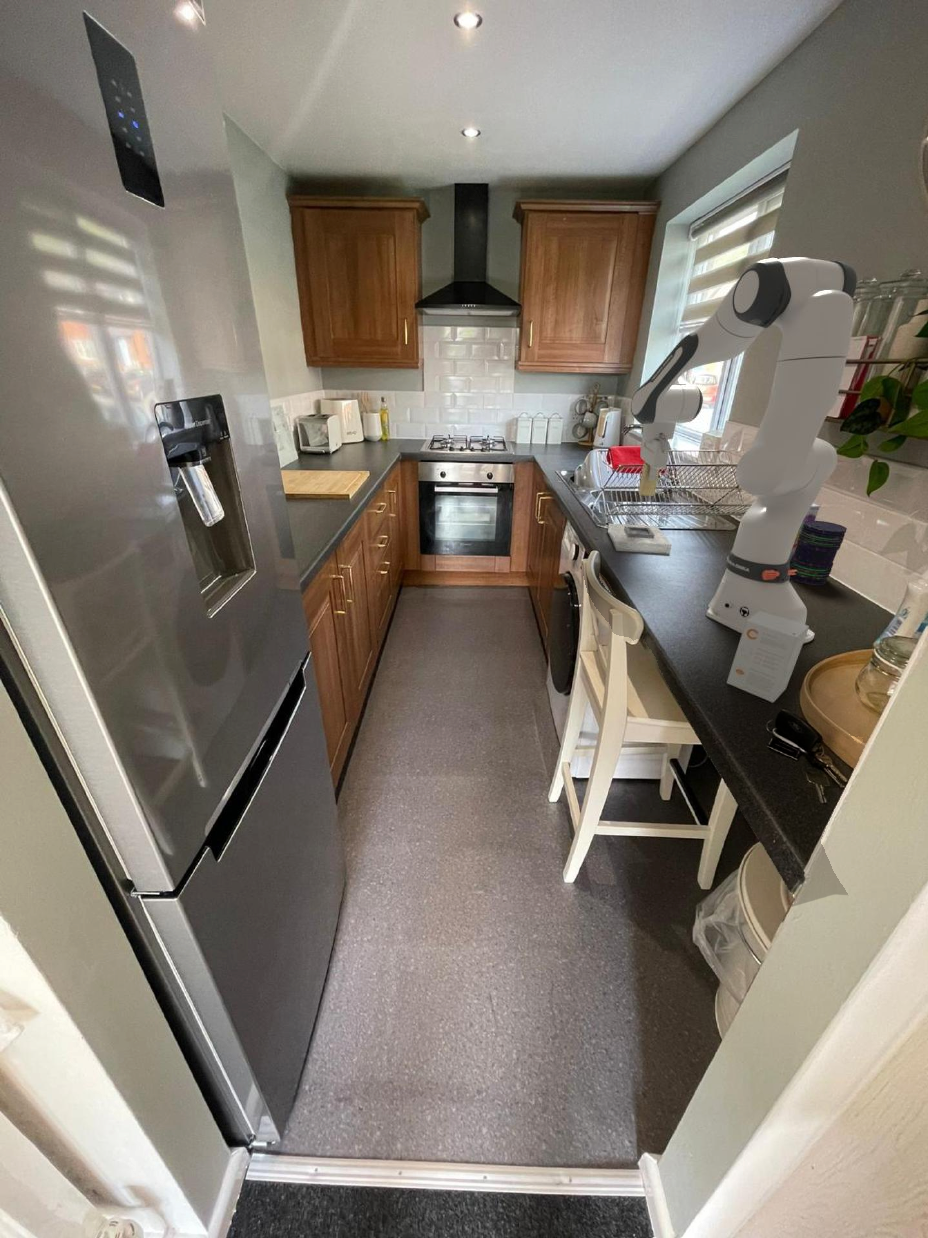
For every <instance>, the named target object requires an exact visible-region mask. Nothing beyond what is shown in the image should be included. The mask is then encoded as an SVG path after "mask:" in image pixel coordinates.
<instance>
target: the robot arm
mask: <svg viewBox="0 0 928 1238" xmlns="http://www.w3.org/2000/svg"><path fill="white" fill-rule="evenodd" d="M857 283H858V277H857V273H856V270H855V269H854V268H853V267H852V266H851V265H849V264H848V263H846V262H843V261H839V260H822V259H817V258H816V259H815V258H810V257H806V256H805V257H798V256H796V257H786V258H779V259H778V258H775V257H771V258H767V259H762V260H759V261H756V262H754V263H752V264H751V265H749V266H748V267H747V268H746V269H745V270H743V272H742V274H741V276H740V277H739V278H738V280H737V281H736V282H735V283H734V284H733V285H732V287H731V288H730V289H729V290H728V292H727V293H726V295H725V296H724V297H723V299H722V301H720V303H719V305H718V306H717V308H715V311H714V312H713V313H712V314H711V315H710V316H709V318H707V320H705V322H703V323H702V324H701V325H700V326H699V327H697V328H696V329H695V330H694V331H692V332H690V333H689V334H687V335H685V336H684V337H683V338H682V339H681V340H679V342H678V343H677V344H676V345H675V347H673V349H672V350H671V352H670V353H668V355H667V356H666V358H665V359H664V360H663V361H662V363H660V365H659V366H658V367H657V368H656V370H655V371H654V372H653V374H652V375H651V376H650V377H649V378H648V379H647V380H646V381H645V382H644V383H643V384H642V385H641V386H640V387H639V388H638V389H637V390H636V391H635V392H634V394H633V396H632V398H631V404H630V412H631V415H632V416H633V417H634V419H635V420H636V421H637V423H639V424H641V425H643V426H642V427H641V431H640V433H641V444H640V451H639V452H640V459H642V460H643V462H644V463H647V464H649V465H650V473H649V474H648V480H649V481H654V480H655V476H656V474H657V472H658V469H659V470H665V469H666V467H667V465H668V458H669V453H670V447H671V446H670V441H669V440H672V439H673V438H674V434H675V430H676V426H677V424H685V423H691V422H692V421H693V420H695V419H696V418H697V417H698V416H699V414H700V412H701V410H702V407H703V402H704V396H703V393H702V391H701V389H700V388H699V387H698V386H695V385H693V384H691V383H690V382H689V381H688V380H687V379H686V375H685V373H686V372H689V371H690V370H692V369H695V368H698V367H702V366H707V365H710V364H715V363H720V362H725V361H731V360H732V359H735V358H736V357H739V356H740V355H741V354H742V353H743V352H745V351H746V350H747V349H748V348H749V347H750V346H751V345H752V344H753V343H754V342H755V340H756V339H757V337H759V335H760V334H761V333H762V331H763V330H764V329H768V328H769V327H771V326H776V327H778V329H780V331H781V334H782V336H781V337H782V338H781V344H780V349H779V353H778V356H777V361H776V367H775V370H774V371H775V372H774V376H773V381H772V386H771V391H770V392H771V393H770V396H769V399H768V404H767V408H766V409H765V412H764V414H763V415H764V416H763V418H762V420H761V423H760V425H759V427H758V430H757V432H756V433H755V436H754V438H753V441H752V443H751V444H750V446H749V448H748V449H747V450H746V451H745V452H744V454H743V455H742V456H741V457H740V459H739V461H738V462H737V465H736V468H735V470H736V471H735V477H736V482H737V484H738V486H739V488H740V489H742V490H743V491H744V492H745V493H747V494H749V495H752V496H756V497H755V499H754V501H753V502H752V504H751V505H750V507H749V508H748V509H747V510H746V511H745V513H744V514H743V516H742V518H741V519H740V523H739V526H738V529H737V533H736V536H735V539H734V543H733V546H732V549H731V550H729V554H728V556H727V558H726V563H725V567H726V569H725V573H724V574H723V576H722V579H721V581H720V583H719V585H718V587H717V589H716V591H715V594H714V596H713V597H712V599H711V600H710V601H709V603H708V606H707V607H708V609H707V612H706V613H705V615H706V616H707V617H708V618H710V619H712V620H714V621H716V622H718V623H720V624H721V625H724V626H726V627H728V628H730V629H732V630H733V631H736V632H738V633H740V634H742V633H743V629H744V626H745V623H746V620H747V619H749V618H750V617H752V616H753V615H755V614H756V613H757V612H759V611H763V612H766V613H769V614H772V615H775V616H778V617H782V618H785V619H788V620H791V621H794V622H797V623H801V624H804V625H806V622H807V617H808V616H807V615H808V610H807V606H806V605H805V603H804V602H803V600H802V599H801V597H800V596H799V594H798V592H797V591H796V590H795V588H794V587H793V585H792V583H791V582H790V575H796V574H795V573H792V572H796V571H797V570H790V564H789V560H788V559H789V556H790V553H791V550H792V548H793V545H794V542H795V539H796V536H797V533H798V531H799V528H800V526H801V524H802V522H803V520H804V518H805V516H806V514H807V513H808V511H809V509H810V508H811V506H812V504H814V502H815V501H816V499H817V497H818V496H819V493H820V491H821V489H822V488H823V487H824V484H825V483H826V482H827V480H828V479H829V478H830V477H831V476H832V474H833V473H834V472H835V470H836V467H837V464H838V454H837V450H836V448H835V447H834V446H833V445H832V444H831V443H829V442H828V441H826V440H824V439H821V438H818V437H817V436H818V435H819V432H820V429H821V428H822V426H823V424H824V422H825V420H826V418H827V416H828V414H829V413H831V411H832V410H833V408H835V405H836V403H837V400H838V395H839V391H840V387H841V384H842V380H843V377H844V376H843V375H844V371H845V366H846V363H847V360H848V356H849V355H848V354H849V352H850V351H849V350H850V345H851V341H852V340H851V339H852V333H853V324H854V323H853V322H854V305H855V304H854V301H853V298H854V295H855V292H856V288H857ZM814 637H815V632H813V631H812V630H811V629H810V628H809V629H808V631H807V634H806V637H805V640H804V642H803V644H806V643H809V642H811V641H813V640H814Z"/></svg>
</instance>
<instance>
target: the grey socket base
mask: <svg viewBox="0 0 928 1238" xmlns="http://www.w3.org/2000/svg"><path fill="white" fill-rule="evenodd" d="M607 530H608V531H607V533H608V535H609V538H610V540H611V541H612V544H613V546H614V548H615V550H616V551H617V552H627V553H628V552H629V553H632V552H633V553H642V554H643V553H646V554H657V555H658V554H659V555H670V554H671V550H672V546H673V545H672V543H671V542H670V540H668V538H667V537H666V536H665V535H664V533H663V532H662V531H661V529H660V528H659V527H658V526H657V525H641V524H626V523H625V524H621V523H609V524H608V528H607Z"/></svg>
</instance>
